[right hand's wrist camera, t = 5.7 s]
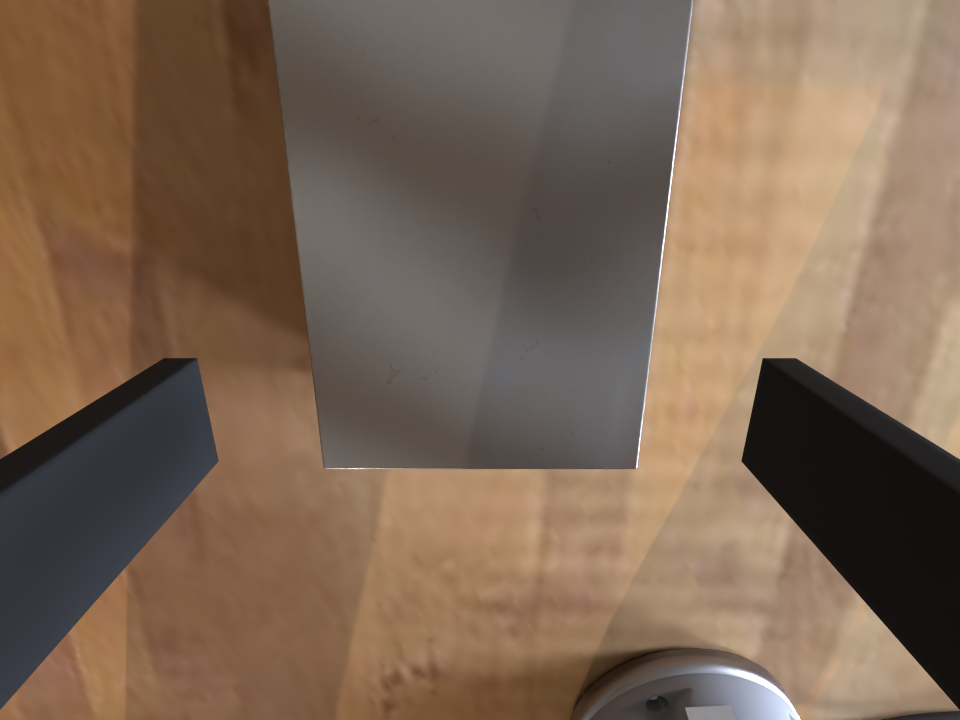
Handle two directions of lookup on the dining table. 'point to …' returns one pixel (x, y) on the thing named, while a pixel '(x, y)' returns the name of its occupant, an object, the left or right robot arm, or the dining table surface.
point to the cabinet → (480, 222)
